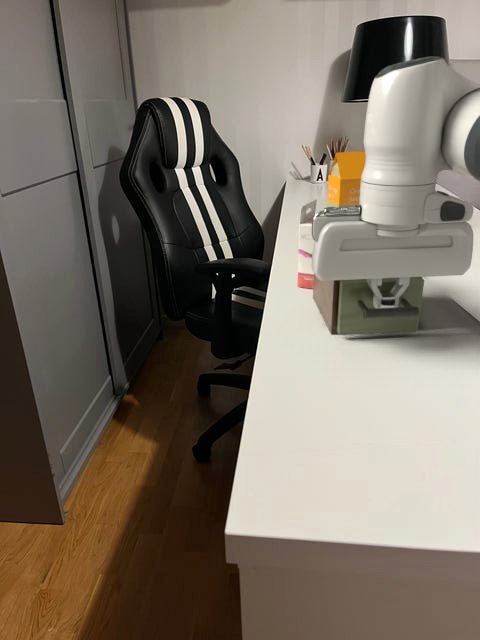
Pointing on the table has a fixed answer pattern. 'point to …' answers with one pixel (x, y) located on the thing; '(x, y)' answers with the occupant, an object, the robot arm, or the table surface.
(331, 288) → the cabinet
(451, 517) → the table surface
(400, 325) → the drawer
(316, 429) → the table surface
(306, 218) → the ink cartridge box
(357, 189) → the orange juice
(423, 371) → the table surface
